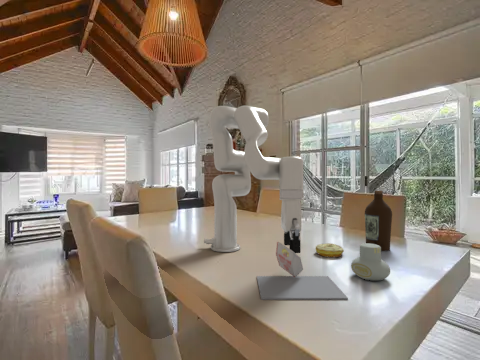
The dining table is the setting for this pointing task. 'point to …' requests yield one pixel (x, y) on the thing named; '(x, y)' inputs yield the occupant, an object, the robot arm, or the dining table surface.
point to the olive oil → (378, 222)
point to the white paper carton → (288, 260)
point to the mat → (299, 288)
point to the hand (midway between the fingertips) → (291, 248)
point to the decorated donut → (329, 250)
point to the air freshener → (370, 263)
